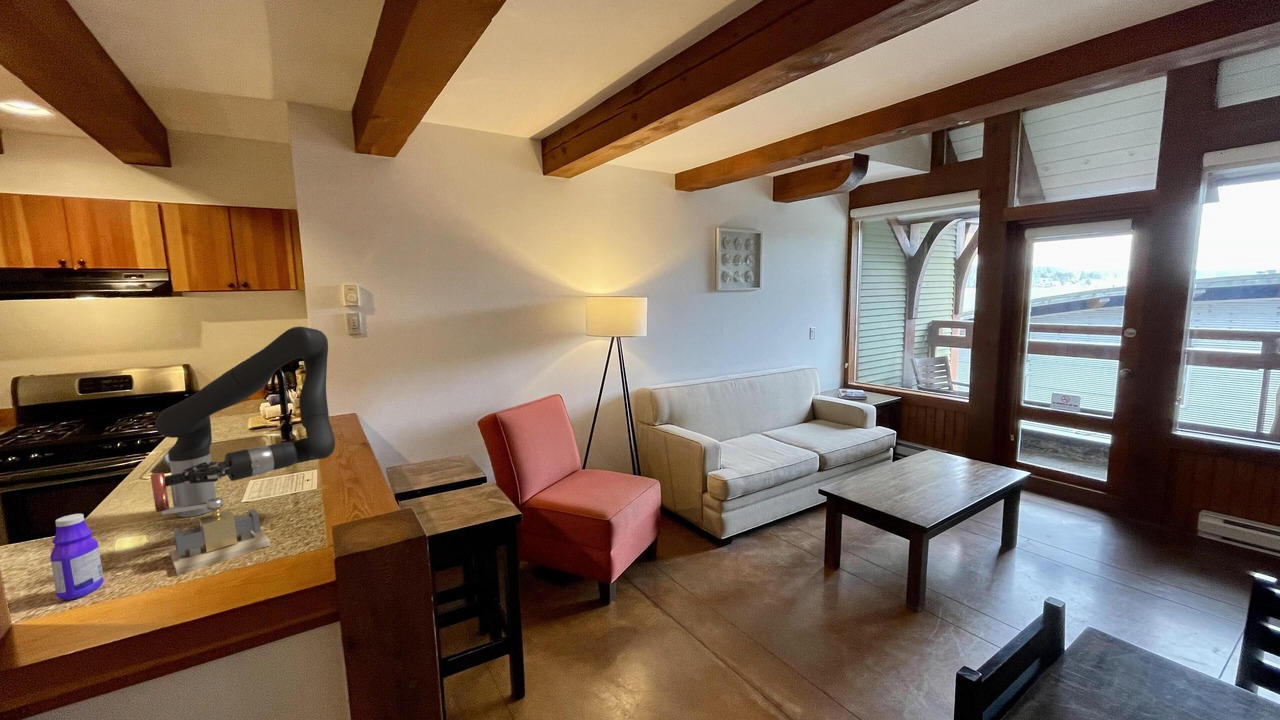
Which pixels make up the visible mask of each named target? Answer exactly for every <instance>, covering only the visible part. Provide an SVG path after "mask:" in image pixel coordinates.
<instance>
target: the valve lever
mask: <svg viewBox="0 0 1280 720" xmlns="http://www.w3.org/2000/svg"><path fill="white" fill-rule="evenodd" d="M149 476H150V481H151V489H152V494H153V495H152V496H153V501H154V507H155V512H156V513H160V512H161V515H162V516H164V515H168V514H175V513H177V512H183V511H189V510H196V509H202V508H207V509H208V510H212V509H217V508H220V509H221V508H222V507H224V500H223V497H216V498H214V499H210V500H208V501H206V502H203V503H196V504H190V505H183V506H177V507H174V506H171V507H170V505H169V504H170V502H169V495H168V490H167V486H166V482H165V472H156V473H152V474H150V475H149Z"/></svg>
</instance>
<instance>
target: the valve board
mask: <svg viewBox="0 0 1280 720" xmlns="http://www.w3.org/2000/svg"><path fill="white" fill-rule="evenodd" d="M260 530H261V532H259V533H254V531H251V539H249V540H246V541H241V540H240V538H239V537H238V535H236V536H237V543H236V544H233V545H229V546H226V547H223V548H219V549H216V550H213V551H209V552H206V550H205V548H204V546H203V545H202V546H200V550H201V554H199V555H196V556H193V557H190V555H189V553H188V550H185V554H184V555H181V556H179V555H178V553H177V551H176V547H175V548H173V549H169V550H168V552H169V558H170V560H171V562H172V565H173V568H174V571H175V574H176V576H179V575H184V574H186V573H190V572H193V571H197V570H199V569H203V568H205V567H208V566H212V565H215V564H218V563H221V562H224V561H227V560H230V559H234V558H237V557H241V556H244V555H247V554H250V553H253V552H256V551H258V550H257V549H259V550H261V549H260V548H262V549H264V548H263V547H266V548H268V547H267V546H269V547H271V546H272V543H271V539H270V538H269V537H268V536H267V534H266V533H265V532H264V531H263V529H261V528H260ZM255 550H256V551H255ZM252 551H253V552H252ZM249 552H250V553H249ZM246 553H247V554H246Z"/></svg>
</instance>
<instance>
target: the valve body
mask: <svg viewBox="0 0 1280 720" xmlns="http://www.w3.org/2000/svg"><path fill="white" fill-rule="evenodd" d="M210 512H211V513H210V514H211V515H207V516H202V517H199V518H198V520H199V526H198V527H194V528H191V529H187V530H183V531H182V530H181V528H176V529H173V530H172V531H173V538H174V544H175V548H176V551H177V553H178V555H179V556H181V555H184V554H185V550H188V553H189V555H190V557H193V556H196V555H199V554H201V550H200V546H202V545H203V546H204V548H205V550H206V552H209V551H213V550H216V549H219V548H223V547H226V546H229V545H233V544H236V543H237V536H236V535H238V537H239V538H240V540H241V541H246V540H249V539H251V531H254V533H259V532H261V530H262V529H261V524H260V516H259V515H260V514H259V513H258V511H256V509H255V508H251V509H248V513H245V514H241V515H238V516H234V515H233V513H232V512H231V510H226V511H221V507H220V508H217V509H212V510H211V511H210ZM260 529H261V530H260Z"/></svg>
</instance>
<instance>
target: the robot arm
mask: <svg viewBox="0 0 1280 720" xmlns="http://www.w3.org/2000/svg"><path fill="white" fill-rule="evenodd" d="M328 353H329V340H328V337H327V336H326V334H325V332H323V331H321V330H318V329H316V328H310V327H306V326H293V327H290V328H289V329H287V330H285V331H284V332H283V333H282V334H280V335H278V336H277V337H276V338H275V339H274V340H273V341H272V342H270V343H269V344H267V345H265V347H263V349H261V350H259V351H258V352H256V353H254V354H253V355H251V356H250V357H248V358H247V359H245V360H244V361H242V362H240V363H238V364H237V365H235V366H233V367H232V368H230V369H229V370H227V371H226V372H224V373H222V374H221V375H219V376H218V377H217V378H215V379H214V380H212V381H211V382H210V383H208V384H206V385H204V387H202V388H201V389H200V390H198V391H197V392H196V393H194V394H192V395H191V396H189V397H187V398H185V399H183V400H181V401H179V402H177V403H175V404H172V405H171V406H169V407H167V408H165V409H163V410H162V411H160V412H159V413H158V415H157V417H156V419H155V423H154V427H155V430H156V432H157V433H159V435H161V436H163V437H165V438H166V437H167V438H177V439H176V441H175V443H174V445H173V446H172V447H171V448H170V449H169V450H168V452H167V453H168V454H167V456H168V461H169V469H170V475H166V476H165V482H166V487H169V486H170V490H171V491H170V492H171V497H172V505H173V507H177V506H183V505H190V504H196V503H203V502H206V501H208V500H210V499H214V498H217V493H216V488H215V487H216V486H215V482H218V481H219V480H221V479H222V477H226V476H227V477H228V479H229V480H230V481H232V482H234V481H239V480H242V479H243V480H244V479H246V478H251V477H254V476H260V475H263V474H266V473H268V472H272V471H276V470H279V469H283V468H287V467H291V466H293V465H295V464H301V463H306V462H310V461H315V460H316V461H317V460H323V459H326V458H329V457H330V456H331V455H333V453H334V451H335V449H336V440H335V439H336V438H335V435H334V432H333V428H332V425H331V423H330V416H329V406H328V399H327V398H328V397H327V371H328V369H327V368H328V357H329V356H328ZM297 359H303V362H304V363H303V364H304V368H305V371H304V372H305V376H304V380H303V384H302V387H301V390H300V394H299V398H298V399H299V402H298V406H299V415H300V423H301V425H302V427H303V428H305V432H306V437H305V438H299V439H296V440H293V441H285V442H279V443H275V444H270V445H266V446H265V445H264V446H256V447H250V448H247V449H242V450H237V451H231V452H227V453H225V456H224V461H216V460H215V461H212V457H211V445H212V443H213V440H212V439H213V438H212V437H213V436H212V423H211V416H212V415H214V414H215V413H217V412H220V411H222V410H225V409H227V408H230V407H232V406H234V405H236V404H238V403H240V402H242V401H244V400H246V399H249V397H252V395H254V394H256V393H258V392H259V391H260V390H262V389H263V388H264V387H266V386H267V385H268V384H269V382H270V381H271V379H272V377H273V375H274V374H275V372H277V370H279V369H280V368H282V367H283V366H285V365H287V364H289V363H290V362H292V361H294V360H297ZM209 512H211V510H208V509H207V508H202V509H196V510H189V511H183V512H177V513H174V515H176V516H177V517H178V518H179V517H180V518H188V517H189V518H190V517H195V516H200V515H201V516H202V515H204V514H207V513H209Z"/></svg>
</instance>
